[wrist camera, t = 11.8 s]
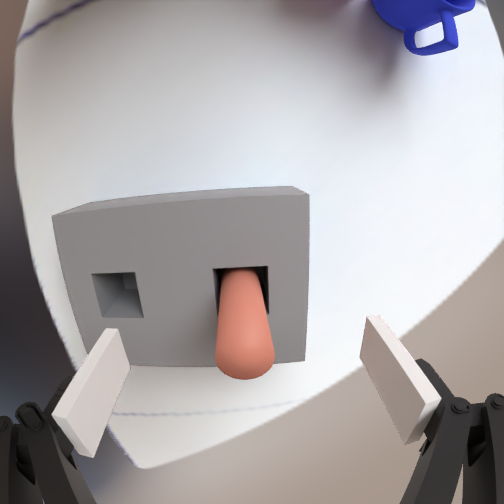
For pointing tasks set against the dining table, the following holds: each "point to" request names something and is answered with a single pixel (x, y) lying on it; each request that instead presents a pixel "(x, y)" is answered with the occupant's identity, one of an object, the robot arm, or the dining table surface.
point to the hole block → (185, 269)
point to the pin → (243, 326)
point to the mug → (424, 20)
